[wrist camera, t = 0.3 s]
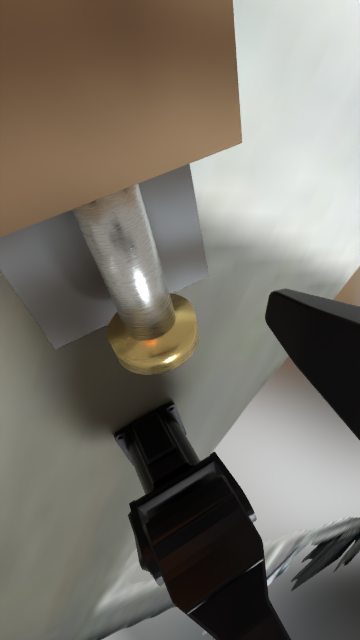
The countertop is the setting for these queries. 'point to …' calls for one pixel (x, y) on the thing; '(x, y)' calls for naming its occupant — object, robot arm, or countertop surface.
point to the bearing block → (106, 139)
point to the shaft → (137, 285)
